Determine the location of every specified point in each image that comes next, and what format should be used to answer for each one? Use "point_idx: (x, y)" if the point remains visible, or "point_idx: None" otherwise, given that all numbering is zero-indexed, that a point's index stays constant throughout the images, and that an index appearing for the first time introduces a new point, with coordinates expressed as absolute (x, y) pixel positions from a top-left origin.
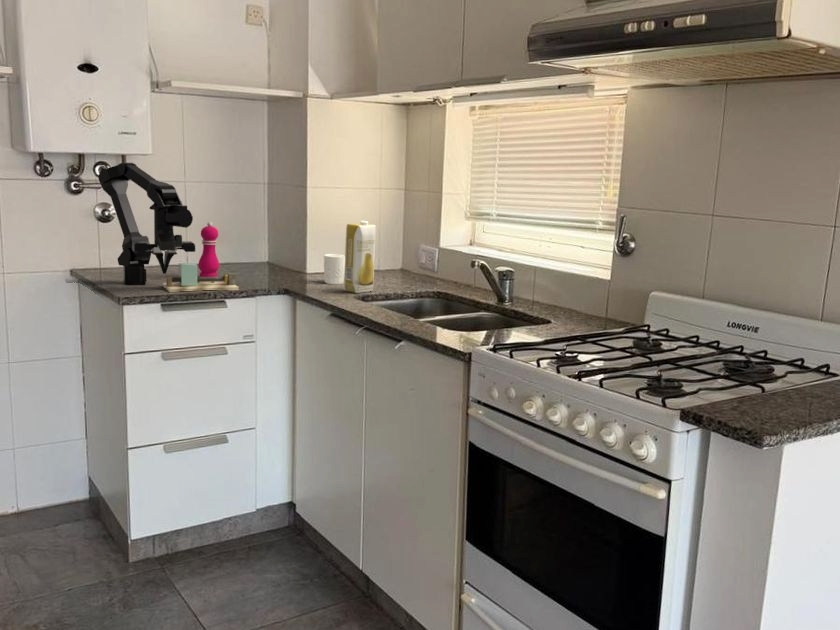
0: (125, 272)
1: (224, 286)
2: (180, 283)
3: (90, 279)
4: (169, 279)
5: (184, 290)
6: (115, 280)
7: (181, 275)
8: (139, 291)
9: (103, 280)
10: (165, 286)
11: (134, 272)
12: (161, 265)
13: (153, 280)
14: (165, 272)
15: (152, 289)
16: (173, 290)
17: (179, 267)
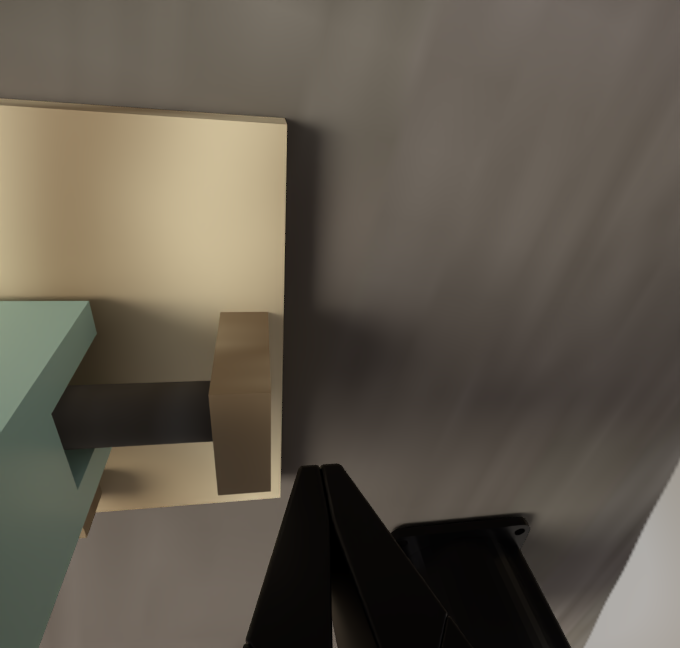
0: (556, 625)
1: None
2: None
3: (591, 631)
4: (250, 366)
5: (54, 102)
6: None
7: (26, 399)
8: (568, 259)
9: None
10: (281, 383)
11: (504, 622)
12: (414, 582)
13: None
14: (308, 474)
15: (412, 344)
16: (228, 119)
17: (25, 634)
